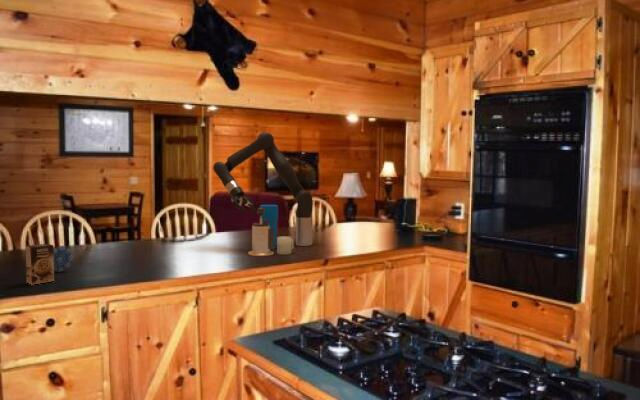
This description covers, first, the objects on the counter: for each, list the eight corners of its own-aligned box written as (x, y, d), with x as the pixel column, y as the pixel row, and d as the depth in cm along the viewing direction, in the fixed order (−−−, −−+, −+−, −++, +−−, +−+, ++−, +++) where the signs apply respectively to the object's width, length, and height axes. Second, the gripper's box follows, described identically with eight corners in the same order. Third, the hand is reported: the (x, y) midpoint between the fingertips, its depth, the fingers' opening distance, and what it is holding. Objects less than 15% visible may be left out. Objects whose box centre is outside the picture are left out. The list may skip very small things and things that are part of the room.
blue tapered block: (274, 249, 316) (275, 206, 314) (257, 248, 318) (257, 205, 316) (279, 246, 326) (280, 204, 324) (262, 245, 328) (263, 204, 326)
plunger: (263, 246, 303) (263, 207, 302) (267, 247, 299) (267, 208, 297) (254, 246, 300) (254, 208, 299) (259, 248, 296) (259, 208, 294)
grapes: (72, 269, 256) (71, 244, 255) (74, 272, 250) (73, 246, 249) (44, 271, 250) (44, 246, 249) (45, 274, 244) (45, 248, 243)
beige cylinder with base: (266, 250, 310) (266, 221, 308) (278, 254, 298) (278, 224, 297) (244, 252, 302) (244, 223, 301) (255, 257, 290) (255, 226, 289)
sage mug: (288, 251, 309) (288, 235, 308) (296, 253, 302) (296, 237, 302) (274, 252, 304) (274, 236, 303) (281, 255, 297) (281, 238, 296)
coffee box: (32, 286, 223) (30, 247, 222) (26, 283, 227) (24, 245, 226) (54, 282, 230) (53, 244, 228) (48, 279, 234) (47, 243, 233)
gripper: (229, 186, 301) (244, 208, 296) (246, 185, 313) (261, 206, 307) (222, 195, 305) (236, 217, 299) (240, 194, 316) (254, 215, 311)
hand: (249, 211), depth 303 cm, fingers open, 8 cm apart
